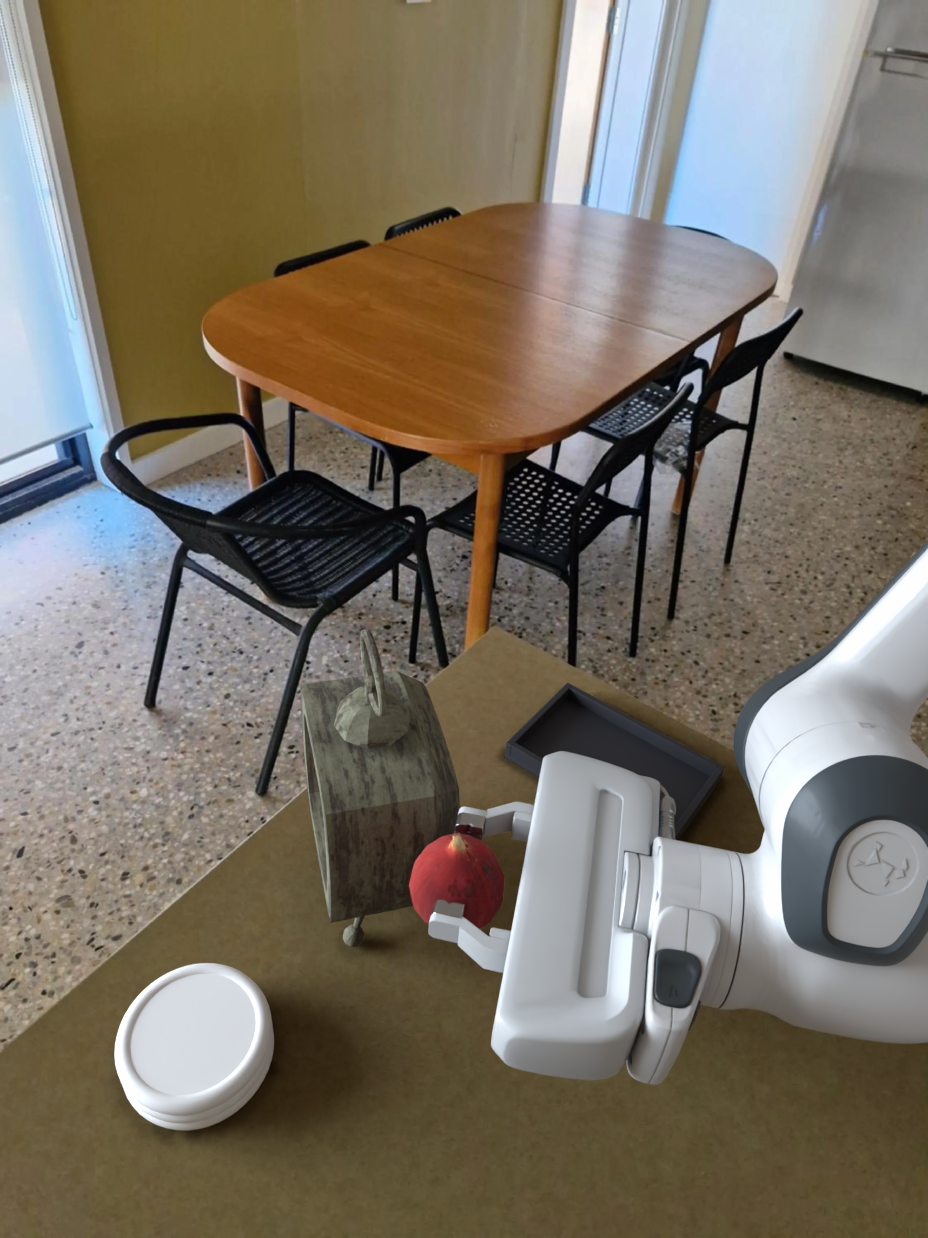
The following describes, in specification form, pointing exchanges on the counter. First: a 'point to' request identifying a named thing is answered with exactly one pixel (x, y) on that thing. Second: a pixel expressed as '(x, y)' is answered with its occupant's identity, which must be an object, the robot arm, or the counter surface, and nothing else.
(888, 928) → the robot arm
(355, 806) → the tabletop clock
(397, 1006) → the counter surface
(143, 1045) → the white round flat cylinder
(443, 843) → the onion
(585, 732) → the baking tray
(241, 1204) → the counter surface
